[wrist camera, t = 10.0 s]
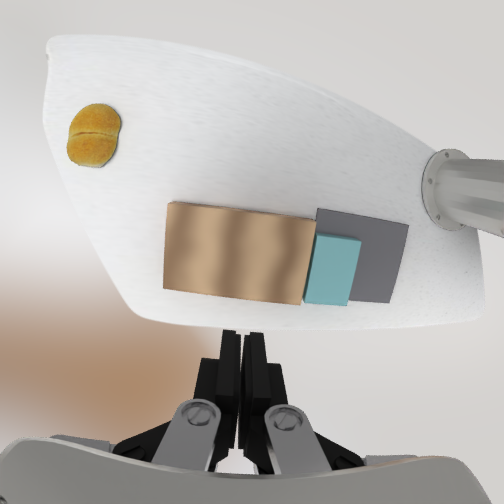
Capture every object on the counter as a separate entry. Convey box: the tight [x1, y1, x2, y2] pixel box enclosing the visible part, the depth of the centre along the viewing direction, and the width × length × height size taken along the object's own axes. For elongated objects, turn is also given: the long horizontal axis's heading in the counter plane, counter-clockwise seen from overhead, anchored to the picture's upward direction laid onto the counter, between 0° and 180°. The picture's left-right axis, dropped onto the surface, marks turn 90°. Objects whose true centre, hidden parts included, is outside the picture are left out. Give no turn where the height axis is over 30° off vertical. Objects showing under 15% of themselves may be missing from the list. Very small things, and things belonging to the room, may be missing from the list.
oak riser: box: [163, 202, 316, 305], centre depth 36 cm, size 18×11×2 cm, turn 82°
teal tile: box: [302, 233, 361, 306], centre depth 37 cm, size 6×9×2 cm, turn 173°
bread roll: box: [67, 104, 121, 168], centre depth 31 cm, size 8×9×4 cm
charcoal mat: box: [315, 208, 409, 303], centre depth 38 cm, size 14×12×1 cm
